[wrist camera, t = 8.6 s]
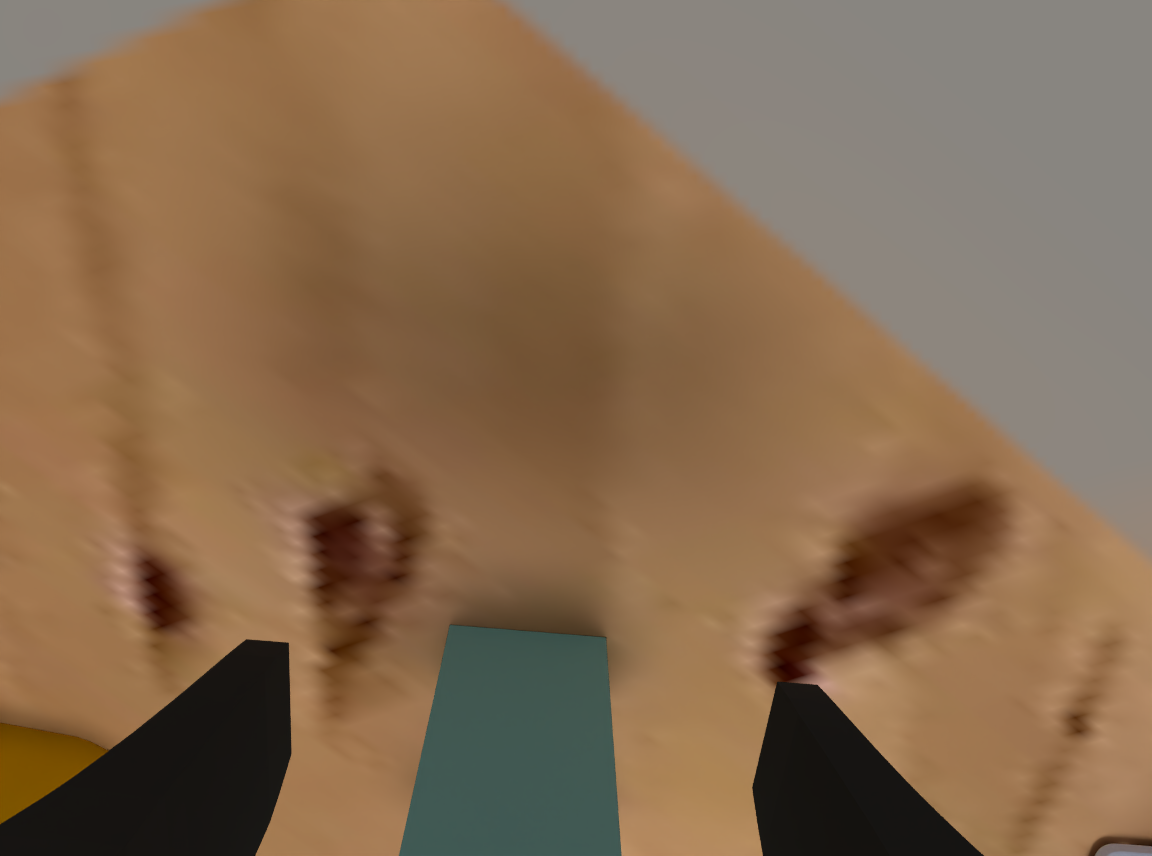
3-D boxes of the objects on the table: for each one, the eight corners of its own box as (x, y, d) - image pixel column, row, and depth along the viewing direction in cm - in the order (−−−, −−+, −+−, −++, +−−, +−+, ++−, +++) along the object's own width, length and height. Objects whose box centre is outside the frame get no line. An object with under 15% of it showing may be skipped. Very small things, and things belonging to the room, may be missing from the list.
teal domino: (606, 637, 24) (622, 875, 17) (598, 693, 25) (610, 944, 18) (449, 624, 24) (398, 860, 17) (446, 681, 25) (395, 931, 18)
